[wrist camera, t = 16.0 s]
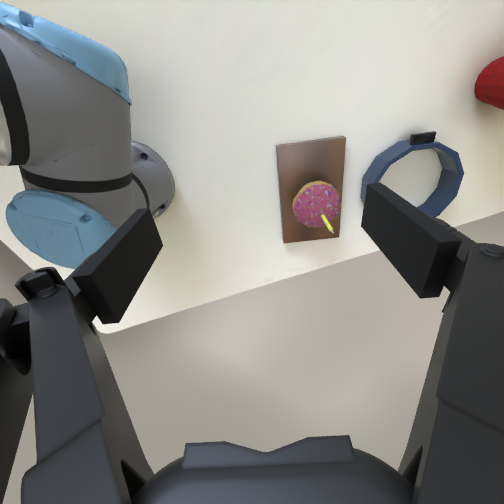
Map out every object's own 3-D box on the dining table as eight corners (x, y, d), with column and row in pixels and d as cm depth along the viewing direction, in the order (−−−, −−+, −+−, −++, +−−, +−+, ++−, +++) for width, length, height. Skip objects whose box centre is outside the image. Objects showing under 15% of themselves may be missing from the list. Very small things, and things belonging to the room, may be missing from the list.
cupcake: (341, 199, 49) (364, 227, 39) (305, 224, 52) (318, 256, 42) (317, 165, 45) (336, 186, 35) (280, 194, 48) (288, 221, 38)
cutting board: (283, 239, 55) (283, 243, 54) (275, 145, 45) (276, 146, 43) (337, 234, 55) (339, 237, 53) (343, 135, 44) (345, 137, 43)
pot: (356, 229, 54) (364, 239, 50) (367, 136, 44) (377, 141, 40) (431, 220, 53) (445, 230, 49) (459, 124, 43) (479, 127, 39)
